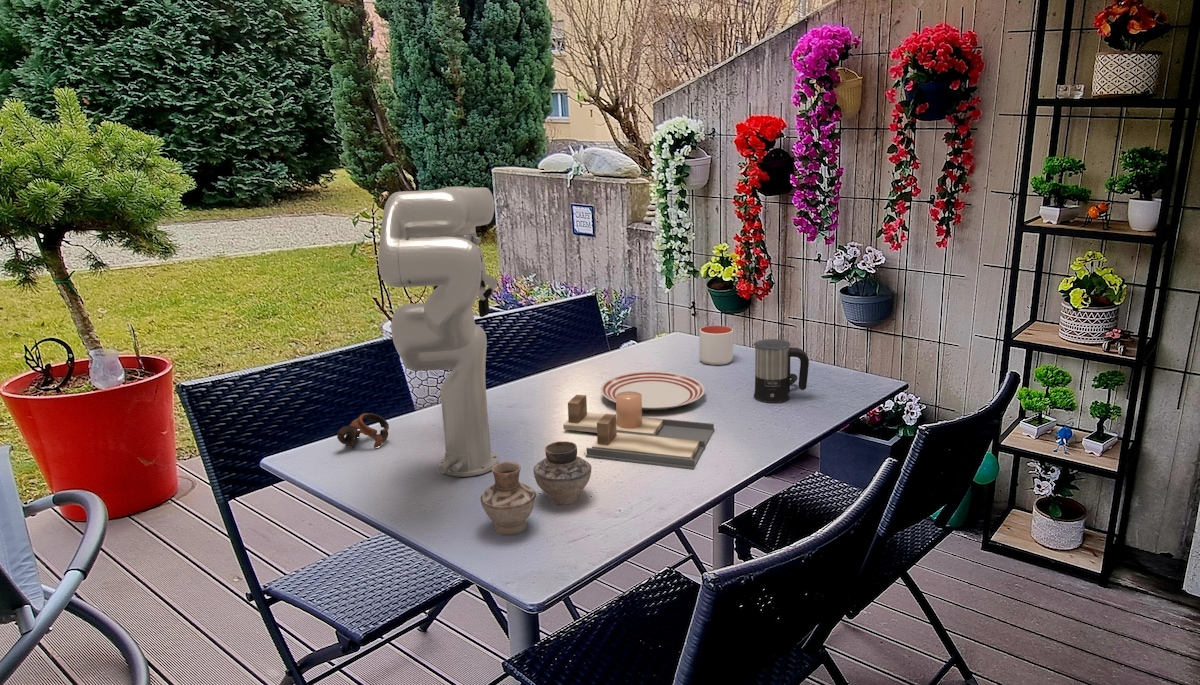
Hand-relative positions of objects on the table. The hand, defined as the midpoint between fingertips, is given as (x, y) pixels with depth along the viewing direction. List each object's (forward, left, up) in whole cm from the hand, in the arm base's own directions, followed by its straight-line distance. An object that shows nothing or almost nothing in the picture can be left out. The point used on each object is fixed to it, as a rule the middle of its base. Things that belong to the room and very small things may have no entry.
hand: (465, 314), depth 181 cm
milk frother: (+43, -67, -28) cm, 84 cm away
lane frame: (+2, -44, -28) cm, 53 cm away
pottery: (-35, -33, -29) cm, 56 cm away
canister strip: (+7, -33, -28) cm, 44 cm away
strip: (-4, -44, -28) cm, 53 cm away
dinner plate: (+31, -36, -29) cm, 56 cm away
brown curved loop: (-17, +20, -29) cm, 39 cm away
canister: (+7, -37, -26) cm, 46 cm away
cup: (+67, -46, -28) cm, 86 cm away
